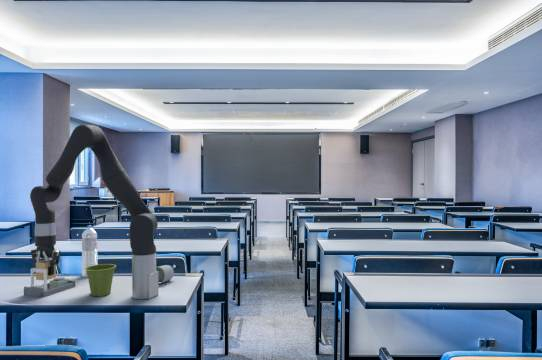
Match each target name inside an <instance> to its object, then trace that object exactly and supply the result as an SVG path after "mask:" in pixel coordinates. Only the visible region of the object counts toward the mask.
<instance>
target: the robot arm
mask: <svg viewBox="0 0 542 360" xmlns="http://www.w3.org/2000/svg"><path fill="white" fill-rule="evenodd" d="M86 149H90V150H91V151H92V152H93V154H94V156H95V158H96V159H97V161H98V165H99V168H100V176H101V179H102V181H103V183H104V185H105V186H106V188H107V190H108V191H109V193H111V195H112V196H113V197H114V198H115V199H116V200H117V201H118V202H119V203H120V204H121V205H122V206H123V207H124V208H125V209H126V210H127V212H128V214H129V215H130V217H131V221H130V223H129V245H130V249H131V285H132V286H131V287H132V289H131V290H132V291H131V292H132V293H131V297H132V298H133V299H135V300H147V299H148V300H150V299H153V298H155V297H156V296H158V295H159V292H160V291H159V284H158V271H156V267H157V247H156V244H155V238H154V237H155V232H156V230H157V228H158V227H159V226H158V224H159V223H158V220H157V217H156V216H155V215H154V213H153V212H152V211H151V209H150V208H149V207H148V206H147V204H145V202H144V200H143V199H142V197H141V195H140V193H139V192H138V190H137V189H136V187H135V185H134V183H133V181H132V179H131V178H130V176H129V175H128V173H127V172H126V170H125V168H124V167H123V165H122V164H121V161H119V159H118V158H117V156H116V154H115V152H114V150H113V149H112V147H111V144H110V143H109V141H108V139H107V136H106V135H105V132H104V131H103V130H102V129H101V127H99V126H97V125H95V124H94V125H93V124H79V125H77V126H75V128H74V129H73V130H72V132H71V134H70V136H69V138H68V141H67V142H66V144H65V146H64V149H63V151H62V152H61V155H60V156H59V159H57V161H56V163H54V165H53V167H52V168H51V169H50V171H49V172H48V174H47V175H46V177H45V182H46V183H47V185H37V186H34V187H33V188H32V189H31V191H30V194H29V197H30V198H29V199H30V202H31V206H32V208H33V211H34V216H35V217H34V220H35V225H34V246H35V247H36V248H33V249H31V250H30V254H31V260H32V263H33V265H36V262H39V260H41V259H45V261H46V262H48V276H51V275H54V266H55V265H56V266H57V265H59V262H60V258H61V253H62V252H61V250H56V249H55V246H56V244H57V229H56V228H57V226H56V212H55V210H54V209H53V208H49V207H48V205H47V203H53V202H56V201H57V200H59V198H60V196H61V194H62V190H63V188H64V185H65V184H66V182H67V181H68V180H69V178H70V177H71V175H72V174H73V172H74V170H75V165H76V161H77V159H78V157H79V156H80V154H81V153H82V152H84V151H85V150H86ZM48 258H51V259H48ZM55 260H56V262H55ZM50 261H52V263H51V262H50Z"/></svg>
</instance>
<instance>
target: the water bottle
mask: <svg viewBox="0 0 542 360" xmlns="http://www.w3.org/2000/svg"><path fill="white" fill-rule="evenodd" d="M86 227H87V228H86V229H85V230H84V231H83V232H82V234H81V240H82V241H81V249H82V250H81V263H82V264H81V265H82V266H81V275H82V276H81V277H82V278H88V275H87V272H86V270H85V268H86V267H89V266H93V265H99V264H98V263H99V262H98V261H99V260H98V258H99V257H98V233H97V231H96V230H95V229H93V228H92V225H91V224H89V225H87V226H86Z"/></svg>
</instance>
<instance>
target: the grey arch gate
mask: <svg viewBox="0 0 542 360" xmlns="http://www.w3.org/2000/svg"><path fill="white" fill-rule="evenodd" d="M36 272H39V273H44V281H43V285H44V286H41V285H38V284H35V273H36ZM47 283H48V280H47V269H40V268H36V267H32V268H30V286H29V287H34V288H43V289H44V291H47Z"/></svg>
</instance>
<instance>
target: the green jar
mask: <svg viewBox="0 0 542 360" xmlns="http://www.w3.org/2000/svg"><path fill="white" fill-rule="evenodd" d="M68 280H69V278H67V277H64V276H61V277H56V278H53V279H49V283H50V289H53V288H56V287H59V286H62V285H66V284H68Z"/></svg>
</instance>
